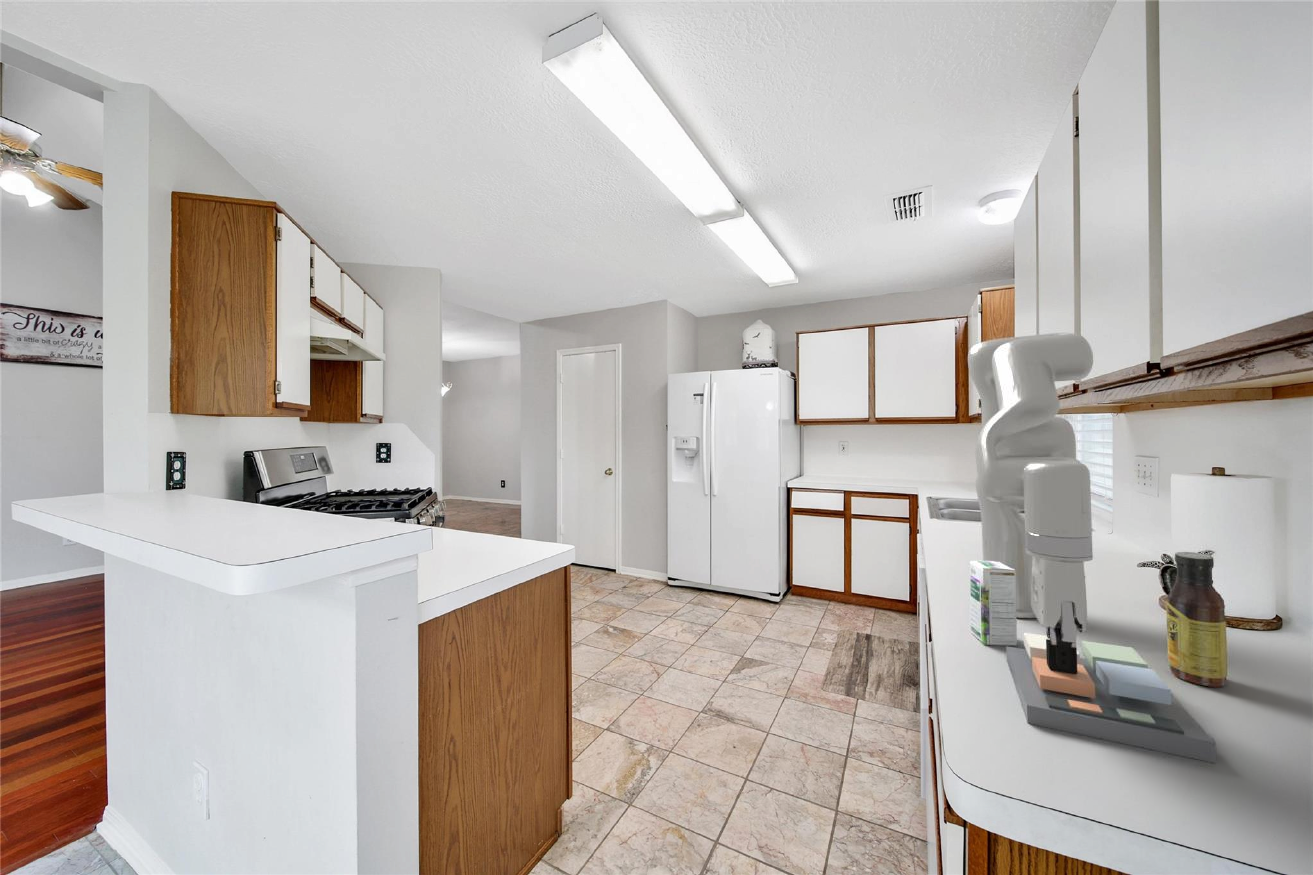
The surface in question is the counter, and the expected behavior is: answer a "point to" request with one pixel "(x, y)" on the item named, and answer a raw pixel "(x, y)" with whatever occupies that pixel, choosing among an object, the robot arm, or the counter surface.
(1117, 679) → the blue key
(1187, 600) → the sauce bottle
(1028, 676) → the keypad
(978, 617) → the syrup box
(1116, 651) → the sage key
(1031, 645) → the cream key
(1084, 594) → the robot arm
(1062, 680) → the terracotta key
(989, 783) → the counter surface
